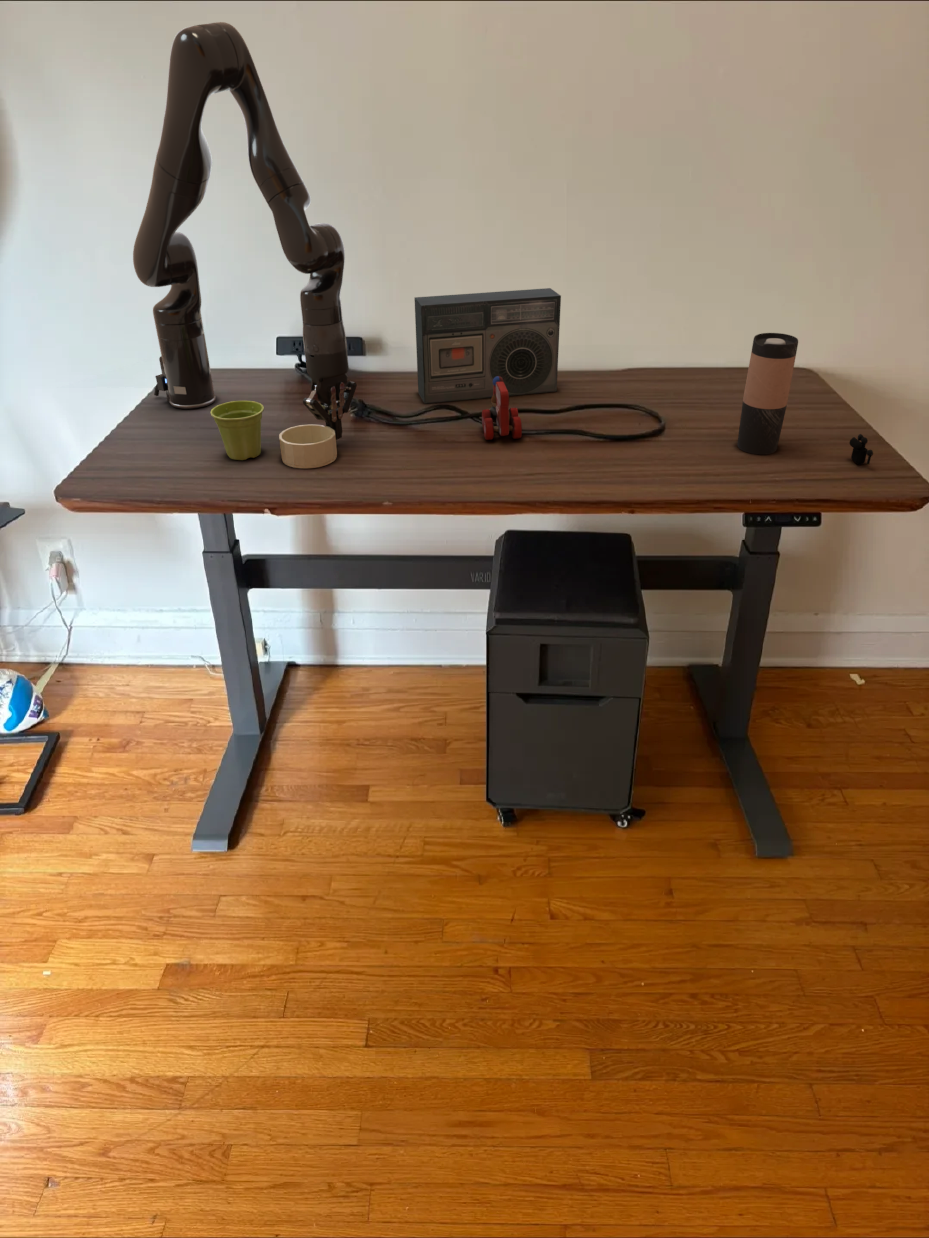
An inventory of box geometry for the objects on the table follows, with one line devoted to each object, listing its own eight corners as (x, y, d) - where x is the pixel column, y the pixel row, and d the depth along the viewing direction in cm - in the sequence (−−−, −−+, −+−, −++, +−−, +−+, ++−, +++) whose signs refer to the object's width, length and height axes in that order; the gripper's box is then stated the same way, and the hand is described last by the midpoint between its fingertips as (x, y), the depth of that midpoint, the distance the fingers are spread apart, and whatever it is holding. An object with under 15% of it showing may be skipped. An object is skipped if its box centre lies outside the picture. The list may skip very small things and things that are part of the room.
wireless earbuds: (871, 470, 157) (878, 443, 154) (857, 471, 157) (864, 444, 154) (851, 455, 163) (857, 428, 160) (838, 455, 163) (844, 429, 160)
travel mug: (779, 442, 168) (799, 334, 157) (777, 457, 162) (798, 346, 151) (737, 437, 170) (754, 331, 160) (733, 452, 164) (751, 342, 154)
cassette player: (424, 403, 188) (421, 305, 177) (418, 393, 194) (414, 297, 183) (556, 391, 194) (560, 295, 183) (546, 381, 199) (550, 288, 189)
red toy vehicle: (515, 421, 179) (516, 369, 173) (522, 444, 169) (524, 390, 163) (480, 422, 179) (480, 371, 173) (486, 446, 168) (486, 392, 162)
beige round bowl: (270, 461, 163) (267, 437, 161) (307, 443, 170) (304, 420, 168) (312, 472, 159) (309, 449, 156) (348, 454, 166) (346, 431, 163)
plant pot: (258, 466, 161) (251, 420, 157) (209, 462, 163) (201, 416, 158) (277, 446, 169) (271, 402, 164) (230, 443, 171) (223, 399, 166)
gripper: (333, 334, 166) (342, 424, 175) (284, 353, 157) (296, 446, 166) (365, 340, 162) (372, 431, 172) (316, 359, 153) (327, 454, 163)
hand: (335, 438), depth 169 cm, fingers closed
